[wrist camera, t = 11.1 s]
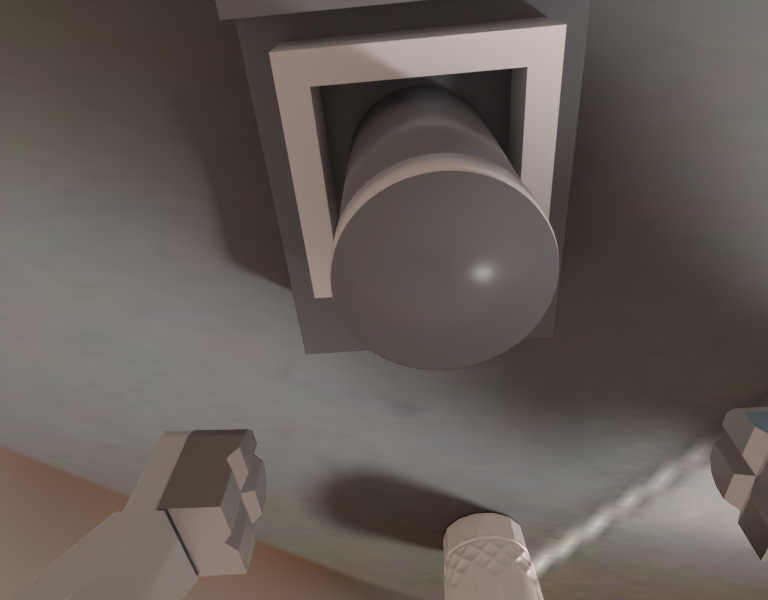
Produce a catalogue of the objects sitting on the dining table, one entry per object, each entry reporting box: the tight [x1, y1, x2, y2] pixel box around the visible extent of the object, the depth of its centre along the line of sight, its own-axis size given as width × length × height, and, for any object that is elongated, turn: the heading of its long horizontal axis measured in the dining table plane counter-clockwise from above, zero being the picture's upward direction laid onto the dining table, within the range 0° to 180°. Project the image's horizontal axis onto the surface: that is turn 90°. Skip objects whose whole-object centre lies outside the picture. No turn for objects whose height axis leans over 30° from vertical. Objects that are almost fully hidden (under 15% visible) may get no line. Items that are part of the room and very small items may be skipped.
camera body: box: [215, 0, 591, 354], centre depth 23 cm, size 13×20×8 cm, turn 5°
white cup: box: [443, 513, 544, 600], centre depth 41 cm, size 8×8×10 cm
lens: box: [329, 86, 559, 370], centre depth 18 cm, size 6×6×10 cm
